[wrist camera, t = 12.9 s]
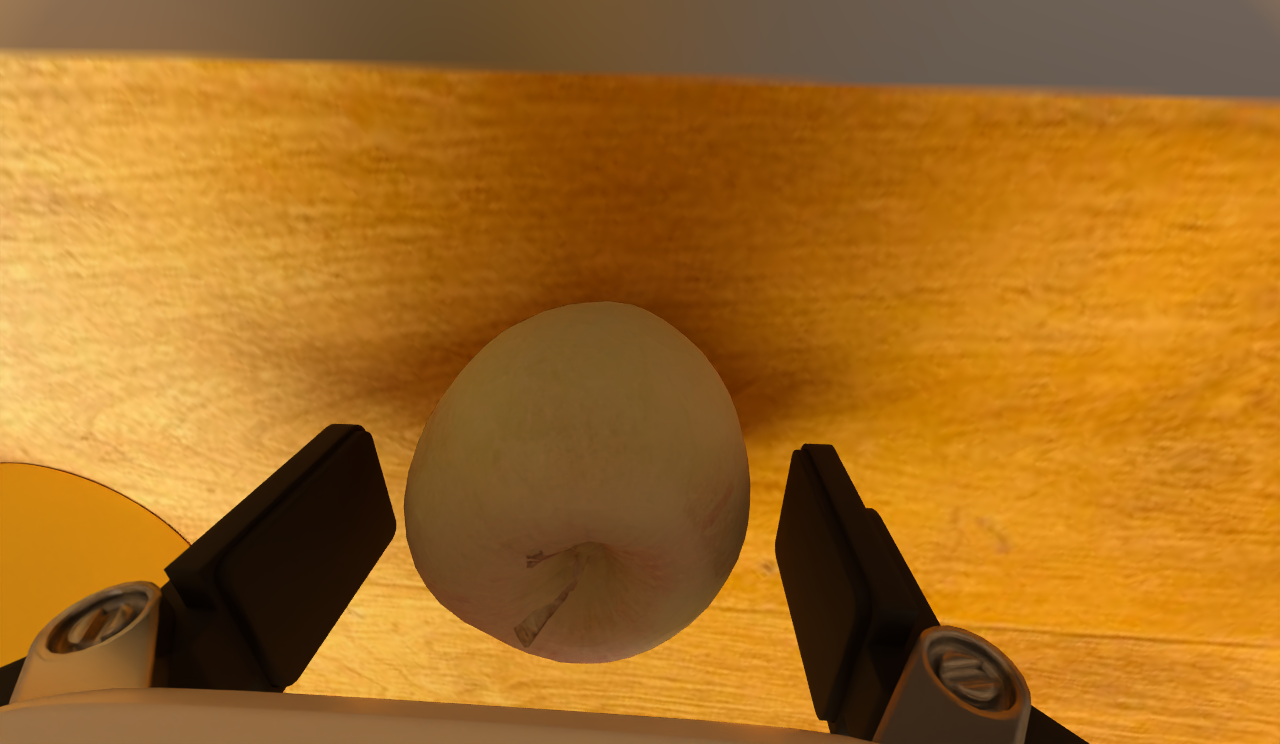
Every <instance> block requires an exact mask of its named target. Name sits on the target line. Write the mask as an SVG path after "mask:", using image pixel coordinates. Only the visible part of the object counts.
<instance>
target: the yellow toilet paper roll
mask: <svg viewBox="0 0 1280 744" xmlns="http://www.w3.org/2000/svg"><path fill="white" fill-rule="evenodd" d="M189 547H190V546H189V545H188V543H187V542H186V541H185V540H184V539H183V538H181V537H180V536H179V535H178V534H177V533H176V532H175V531H174V530H173V529H171V528H170V527H169V526H168V525H167V524H165V523H164V522H163V521H161V520H160V519H159V518H157V517H156V516H155V515H153V514H152V513H150V512H149V511H147V510H146V509H144V508H143V507H141V506H139V505H138V504H136V503H134V502H133V501H131V500H129V499H127V498H126V497H124V496H122V495H120V494H118V493H116V492H114V491H112V490H110V489H108V488H106V487H103V486H101V485H99V484H97V483H94V482H92V481H89V480H86V479H84V478H81V477H78V476H75V475H72V474H69V473H66V472H62V471H58V470H54V469H50V468H46V467H40V466H35V465H27V464H16V463H0V667H3V666H5V665H7V664H10V663H12V662H14V661H17V660H19V659H21V658H24V657H26V656H27V654H28V651H29V649H30V646H31V644H32V642H33V641H34V639H35V638H36V636H37V634H38V633H39V632H40V631H41V630H42V629H43V628H44V627H45V626H46V625H47V624H48V623H49V622H50V621H51V620H52V619H53V618H54V617H56V616H57V615H58V614H60V613H61V612H62V611H64V610H65V609H66V608H68V607H69V606H71V605H73V604H75V603H76V602H78V601H80V600H82V599H83V598H85V597H87V596H89V595H91V594H93V593H96V592H98V591H100V590H103V589H105V588H107V587H111V586H114V585H118V584H121V583H125V582H132V581H140V580H141V581H148V582H153V583H154V584H156V585H157V586H159V587H160V588H161V587H162V586H163V585H164V584H166V583H167V582H168V581H169V580H170V579H169V578H168V576H167V574H166V573H165V571H164V569H165V568H166V567H167V566H168V565H169V564H170V563H171V562H173V561H174V560H175V559H176V558H177V557H178V556H180V555H181V554H182V553H183V552H184V551H185V550H186V549H188V548H189Z"/></svg>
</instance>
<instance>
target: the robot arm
mask: <svg viewBox="0 0 1280 744" xmlns="http://www.w3.org/2000/svg"><path fill="white" fill-rule="evenodd" d="M395 531H396V519H395V516H394V512H393V509H392V505H391V502H390V498H389V495H388V491H387V487H386V484H385V480H384V477H383V473H382V470H381V466H380V463H379V459H378V456H377V452H376V448H375V445H374V441H373V438H372V435H371V434H370V433H369V432H366V431H365V429H364V428H363V427H362V426H360V425H353V424H331V425H329V426H328V427H326V428H325V429H324V430H323V431H322V432H321V433H319V434H318V435H317V436H316V437H315V438H314V439H313V440H311V441H310V442H309V443H308V444H307V445H306V446H305V447H303V448H302V449H301V450H300V451H299V452H298V453H297V454H295V455H294V456H293V457H292V458H291V459H290V460H288V461H287V462H286V463H285V464H284V465H283V466H282V467H280V468H279V469H278V470H277V471H276V472H275V473H274V474H272V475H271V476H270V477H269V478H268V479H267V480H266V481H264V482H263V483H262V484H261V485H260V486H259V487H258V488H256V489H255V490H254V491H253V492H252V493H251V494H249V495H248V496H247V497H246V498H245V499H244V500H243V501H241V502H240V503H239V504H238V505H237V506H236V507H235V508H233V509H232V510H231V511H230V512H229V513H228V514H227V515H225V516H224V517H223V518H222V519H221V520H220V521H219V522H217V523H216V524H215V525H214V526H213V527H212V528H210V529H209V530H208V531H207V532H206V533H205V534H204V535H202V536H201V537H200V538H199V539H198V540H197V541H196V542H194V543H193V544H192V545H191V546H190V547H189V548H188V549H186V550H185V551H184V552H183V553H182V554H181V555H180V556H178V557H177V558H176V559H175V560H174V561H173V562H171V563H170V564H169V565H168V566H167V567H166V568H165V569H164V571H165V573H166V574H167V576H168V578H169V579H170V580H169V581H168V582H167V583H166V584H164V585H163V586H162V587H161V588H160V587H159V586H157V585H156V584H154V583H153V582H148V581H141V580H140V581H132V582H125V583H121V584H118V585H114V586H111V587H107V588H105V589H103V590H100V591H98V592H96V593H93V594H91V595H89V596H87V597H85V598H83V599H82V600H80V601H78V602H76V603H75V604H73V605H71V606H69V607H68V608H66V609H65V610H64V611H62V612H61V613H60V614H58V615H57V616H56V617H54V618H53V619H52V620H51V621H50V622H49V623H48V624H47V625H46V626H45V627H44V628H43V629H42V630H41V631H40V632H39V633H38V634H37V636H36V638H35V639H34V641H33V642H32V644H31V646H30V649H29V651H28V654H27V656H26V657H24V658H21V659H19V660H17V661H14V662H12V663H10V664H7V665H5V666H3V667H0V744H1089V743H1088V742H1086V741H1084V740H1083V739H1081V738H1080V737H1078V736H1077V735H1075V734H1074V733H1072V732H1071V731H1069V730H1068V729H1066V728H1065V727H1063V726H1062V725H1060V724H1059V723H1057V722H1056V721H1054V720H1053V719H1051V718H1050V717H1048V716H1047V715H1045V714H1044V713H1042V712H1041V711H1039V710H1038V709H1036V708H1035V707H1033V706H1032V705H1031V697H1030V691H1029V689H1028V686H1027V684H1026V681H1025V679H1024V677H1023V676H1022V674H1021V673H1020V671H1019V670H1018V669H1017V667H1016V666H1015V665H1014V663H1013V662H1012V661H1011V660H1010V659H1009V658H1008V657H1007V656H1006V655H1005V654H1004V653H1003V652H1002V651H1000V650H999V649H998V648H997V647H996V646H994V645H993V644H991V643H990V642H988V641H987V640H985V639H984V638H982V637H980V636H978V635H976V634H974V633H972V632H969V631H967V630H965V629H961V628H957V627H953V626H941V625H940V624H939V622H938V620H937V618H936V616H935V615H934V613H933V611H932V609H931V607H930V606H929V604H928V602H927V600H926V598H925V596H924V595H923V593H922V591H921V589H920V587H919V586H918V584H917V582H916V580H915V578H914V577H913V575H912V573H911V571H910V569H909V567H908V566H907V564H906V562H905V560H904V558H903V557H902V555H901V553H900V551H899V549H898V547H897V546H896V544H895V542H894V540H893V538H892V537H891V535H890V533H889V531H888V529H887V528H886V526H885V524H884V522H883V520H882V518H881V517H880V515H879V514H878V513H877V511H875V510H874V509H872V508H865V506H864V504H863V502H862V500H861V498H860V496H859V494H858V492H857V490H856V489H855V487H854V485H853V483H852V481H851V479H850V477H849V475H848V473H847V471H846V470H845V468H844V466H843V464H842V462H841V460H840V458H839V456H838V454H837V452H836V450H835V449H834V447H833V446H832V445H828V444H803V446H802V448H801V450H794V451H793V454H792V458H791V463H790V469H789V474H788V479H787V484H786V489H785V494H784V500H783V505H782V510H781V515H780V520H779V525H778V530H777V536H776V541H775V553H776V559H777V563H778V567H779V571H780V575H781V579H782V583H783V587H784V591H785V594H786V598H787V602H788V606H789V610H790V614H791V618H792V622H793V626H794V630H795V634H796V638H797V642H798V646H799V650H800V653H801V657H802V661H803V665H804V669H805V673H806V677H807V681H808V685H809V689H810V693H811V697H812V701H813V705H814V709H815V712H816V715H817V717H818V719H819V720H825V721H827V722H828V726H829V730H830V733H831V734H830V733H823V732H815V731H808V730H801V729H794V728H783V727H771V726H760V725H749V724H738V723H726V722H715V721H704V720H691V719H676V718H662V717H648V716H634V715H619V714H605V713H591V712H577V711H562V710H548V709H532V708H517V707H502V706H486V705H471V704H455V703H440V702H424V701H408V700H392V699H376V698H359V697H342V696H325V695H307V694H290V693H283V691H284V690H285V688H286V687H287V686H290V685H292V684H293V683H295V682H296V681H297V680H298V678H299V677H300V676H301V674H302V673H303V671H304V670H305V668H306V667H307V665H308V664H309V662H310V661H311V659H312V658H313V656H314V655H315V653H316V652H317V650H318V649H319V647H320V646H321V644H322V643H323V642H324V640H325V639H326V637H327V636H328V634H329V633H330V631H331V630H332V628H333V627H334V625H335V624H336V622H337V621H338V619H339V618H340V616H341V615H342V613H343V612H344V610H345V609H346V607H347V606H348V604H349V603H350V601H351V600H352V598H353V597H354V595H355V594H356V592H357V591H358V589H359V588H360V586H361V585H362V584H363V582H364V581H365V579H366V578H367V576H368V575H369V573H370V572H371V570H372V569H373V567H374V566H375V564H376V563H377V561H378V560H379V558H380V557H381V555H382V554H383V552H384V551H385V549H386V548H387V546H388V545H389V543H390V542H391V540H392V539H393V537H394V535H395Z"/></svg>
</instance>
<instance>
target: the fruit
mask: <svg viewBox="0 0 1280 744" xmlns="http://www.w3.org/2000/svg"><path fill="white" fill-rule="evenodd" d="M749 508H750V476H749V465H748V457H747V452H746V447H745V442H744V438H743V434H742V430H741V426H740V423H739V419H738V416H737V412H736V409H735V406H734V403H733V401H732V399H731V397H730V394H729V392H728V390H727V388H726V386H725V385H724V383H723V381H722V379H721V377H720V375H719V374H718V372H717V371H716V370H715V368H714V367H713V366H712V364H711V363H710V362H709V360H708V359H707V358H706V356H705V355H704V354H703V353H702V352H701V351H700V350H699V349H698V348H697V347H696V346H695V345H694V344H693V343H692V342H691V341H690V340H689V339H688V338H687V337H686V336H685V335H683V334H682V333H681V332H680V331H678V330H677V329H676V328H675V327H674V326H672V325H671V324H669V323H668V322H666V321H665V320H663V319H661V318H660V317H658V316H656V315H655V314H653V313H651V312H649V311H648V310H645V309H643V308H640V307H637V306H635V305H631V304H625V303H619V302H612V301H601V302H588V303H578V304H570V305H566V306H562V307H558V308H554V309H550V310H546V311H543V312H541V313H539V314H537V315H535V316H532V317H530V318H528V319H526V320H524V321H522V322H520V323H518V324H516V325H514V326H512V327H510V328H508V329H506V330H505V331H503V332H502V333H500V334H499V335H498V336H497V337H495V338H494V339H493V340H492V341H490V342H489V343H488V344H487V345H485V346H484V347H483V348H482V349H481V350H480V351H479V352H478V353H477V354H476V355H475V356H474V357H473V358H472V360H471V361H470V362H469V363H468V364H467V365H466V366H465V367H464V369H463V370H462V371H461V372H460V373H459V374H458V376H457V377H456V378H455V380H454V381H453V383H452V384H451V385H450V387H449V388H448V389H447V391H446V392H445V393H444V395H443V396H442V398H441V399H440V401H439V402H438V404H437V406H436V407H435V409H434V411H433V412H432V414H431V416H430V417H429V419H428V421H427V423H426V425H425V428H424V430H423V432H422V434H421V437H420V439H419V441H418V444H417V447H416V450H415V453H414V456H413V459H412V462H411V466H410V469H409V472H408V479H407V485H406V491H405V498H404V515H405V526H406V537H407V541H408V545H409V548H410V551H411V554H412V558H413V561H414V564H415V567H416V569H417V571H418V573H419V575H420V576H421V578H422V580H423V582H424V583H425V585H426V587H427V588H428V589H429V590H430V592H431V593H432V594H433V595H434V596H435V598H436V599H437V600H438V601H439V603H440V604H442V605H443V606H444V607H445V608H447V609H448V610H449V611H451V612H452V613H453V614H455V615H456V616H457V617H459V618H460V619H461V620H462V621H464V622H465V623H467V624H469V625H471V626H473V627H475V628H477V629H479V630H481V631H483V632H485V633H487V634H489V635H491V636H493V637H494V638H496V639H498V640H500V641H502V642H504V643H506V644H508V645H510V646H512V647H514V648H516V649H519V650H521V651H524V652H526V653H529V654H533V655H536V656H540V657H543V658H547V659H551V660H554V661H558V662H565V663H605V662H612V661H617V660H621V659H625V658H630V657H632V656H635V655H637V654H640V653H643V652H645V651H648V650H650V649H653V648H655V647H656V646H658V645H660V644H662V643H663V642H665V641H667V640H669V639H670V638H672V637H673V636H675V635H676V634H677V633H679V632H680V631H681V630H683V629H684V628H686V627H687V626H688V625H690V624H691V623H692V622H693V621H694V620H695V619H696V618H697V617H698V616H699V615H700V614H701V613H702V612H703V611H704V610H705V609H706V608H707V607H708V606H709V605H710V603H711V602H712V601H713V599H714V598H715V597H716V595H717V594H718V593H719V591H720V589H721V588H722V586H723V585H724V583H725V582H726V580H727V579H728V577H729V575H730V573H731V571H732V569H733V567H734V565H735V564H736V562H737V560H738V557H739V554H740V551H741V549H742V546H743V543H744V540H745V536H746V531H747V526H748V519H749Z"/></svg>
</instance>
